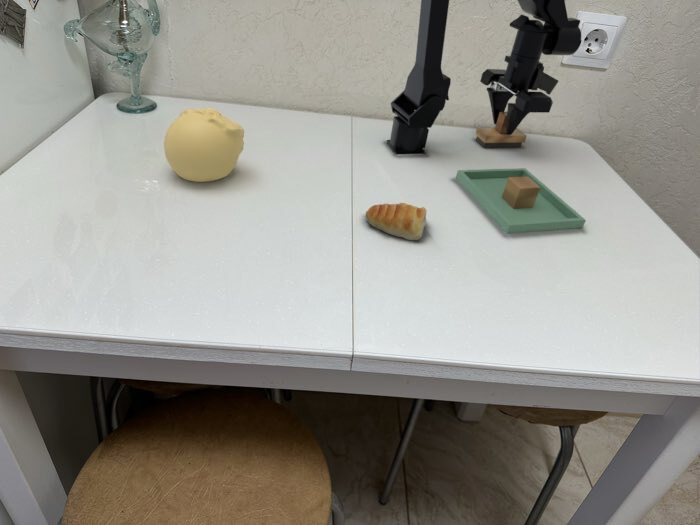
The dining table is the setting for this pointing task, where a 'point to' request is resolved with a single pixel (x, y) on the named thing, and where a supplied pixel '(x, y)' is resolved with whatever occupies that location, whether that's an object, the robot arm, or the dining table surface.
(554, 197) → the tray
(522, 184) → the wooden cube
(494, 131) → the wooden stamp
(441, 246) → the dining table surface
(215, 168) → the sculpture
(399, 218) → the pastry
